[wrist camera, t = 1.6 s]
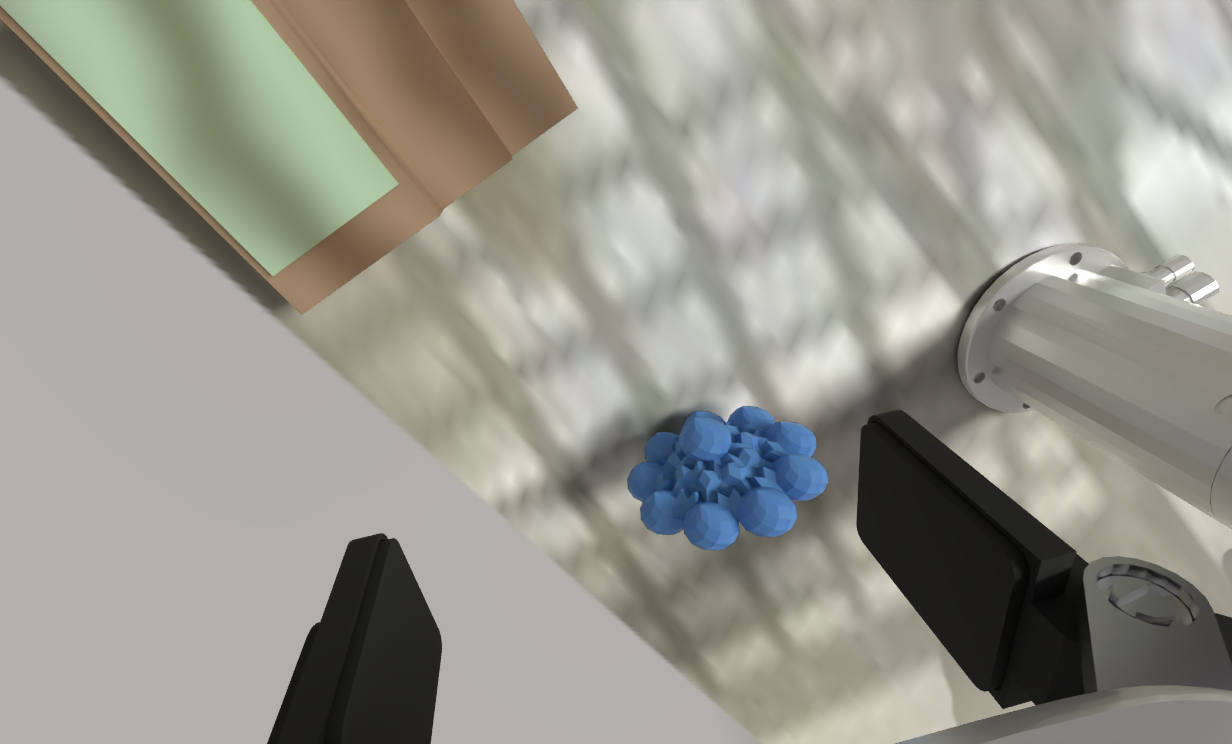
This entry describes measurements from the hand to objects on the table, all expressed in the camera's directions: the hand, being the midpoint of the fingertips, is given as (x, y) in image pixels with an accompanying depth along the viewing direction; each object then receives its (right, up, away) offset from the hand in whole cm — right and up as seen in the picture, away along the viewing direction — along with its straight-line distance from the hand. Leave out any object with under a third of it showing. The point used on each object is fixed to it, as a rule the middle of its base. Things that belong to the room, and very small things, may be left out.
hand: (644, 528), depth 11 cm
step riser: (-14, +18, +16) cm, 28 cm away
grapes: (+4, +1, +28) cm, 28 cm away
